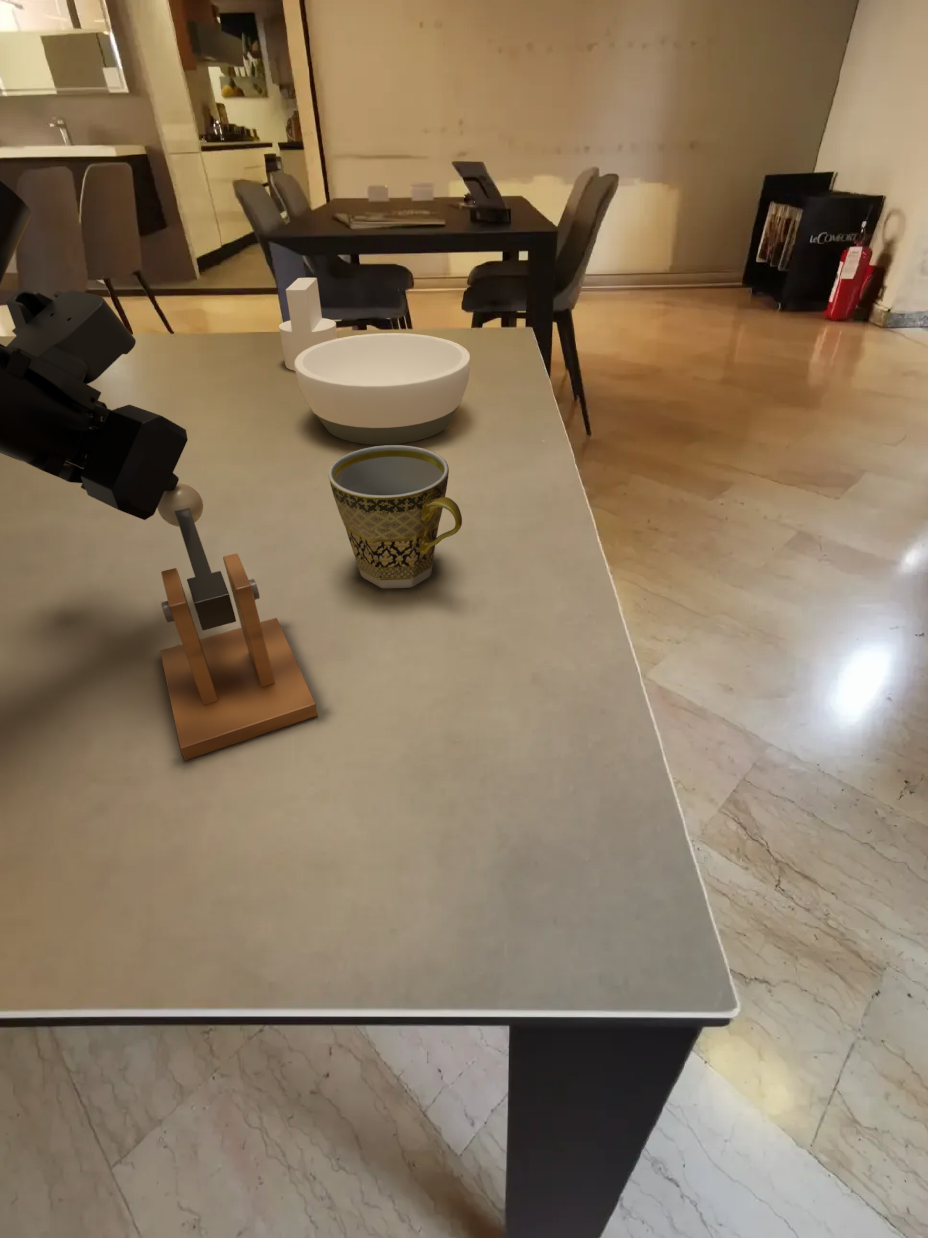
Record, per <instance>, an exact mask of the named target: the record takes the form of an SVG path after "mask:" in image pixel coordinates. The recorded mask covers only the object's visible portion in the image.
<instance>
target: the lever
mask: <svg viewBox="0 0 928 1238" xmlns="http://www.w3.org/2000/svg"><path fill="white" fill-rule="evenodd" d="M156 510H157V512H158V514H159V515H160V517H161V518H162V519H163V520H164V521H165V522H166V523H168V524H169V525H171V526H175V527H179V530H180V534H181V536H182V540H183V543H184V546H185V549H186V552H187V556H188V559H189V563H190V566H191V569H192V572H193V574H194V576H193V577H190V578H187V579H186V581H187V585H188V589H189V592H190V595H191V598H192V602H193V605H194V608H195V612H196V614H197V618H198V621H199V624H200V627H201V630H202V631H207V630H210V629H211V630H212V629H214V628H219V627H222V626H225V625H230V624H232V623H236V622H237V617H236V614H235V611H234V607H233V603H232V599H231V596H230V594H229V593H230V592H229V590H228V588H227V584H226V581H225V579H224V576H223V574H222V571H221V570H218V571H213V572H212V570H211V567H210V564H209V561H208V558H207V555H206V552H205V549H204V546H203V543H202V540H201V538H200V535H199V531H198V529H197V526H196V522H198V520H199V519H200V518H201V516H202V515H203V512H204V502H203V499H202V497H201V495H200V493H199V492H198V490H196V489H195V488H194V487H193V486H191V485H189V484H186V483H179V482H178V483H177V485H176V488H175V489H174V490H173V491H164V493H163V496H162V498H161V500H160V502H159V504H158V507H157V509H156Z"/></svg>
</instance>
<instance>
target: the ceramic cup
mask: <svg viewBox="0 0 928 1238" xmlns="http://www.w3.org/2000/svg"><path fill="white" fill-rule="evenodd" d="M449 470H450V468H449V464H448V462H447V461H446V460H445V458H443V456H441V455H439V454H437V453H436V452H435V451H432V450H429V449H426V448H423V447H418V446H412V445H402V444H390V445H374V446H372V447H371V446H370V447H366V448H361V449H357V450H355V451H352V452H349V453H347V454H344V455H343V456H341V457H340V458H339V459H337V460H336V461H335V462H333V464H332V465H331V466H330V468H329V470H328V480H329V485H330V488H331V492H332V495H333V499H334V501H335V504H336V507H337V510H338V513H339V516H340V518H341V521H342V523H343V526H344V528H345V531H346V534H347V537H348V540H349V543H350V546H351V549H352V550H351V551H352V552H353V555H354V558H355V561H356V565H357V567H358V571H359V573H360V576H361V577H362V578H363V579H364V580H366V581H368V582H370V583H372V584H373V585H375V586H377V587H378V588H381V589H406V588H413V587H415V586H417V585H418V584H420V583H421V582H424V581H425V580H427V579H429V578H430V577H431V575H432V572H433V563H434V557H435V550H436V549H435V548H436V545H438V544H439V543H440V542H442V541H443V540H444V539H446V538H449V537H451V536H453V535H455V534H456V533H458V532H459V531H460V530H461V527H462V526H463V517H462V513H461V510H460V508H459V506H458V504H457V503H456V502H455V501H454V500H453V499H452V498H450V497H447V496H446V495H447V488H448V481H449V473H450V471H449ZM444 509H446V510H447V511H449V512H450V514H451V515H452V517H453V518H454V522H455V525H454V527H453V528H452V529H450V530H448V531H445V532H444V533H441V534H440V535H438V532H439V527H440V522H441V521H440V520H441V518H442V514H443V510H444Z"/></svg>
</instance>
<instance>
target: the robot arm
mask: <svg viewBox="0 0 928 1238" xmlns="http://www.w3.org/2000/svg"><path fill="white" fill-rule="evenodd" d="M31 216H32V211H31V209H30V207H29V206H28V204H26V202H25V201H24V200H23V199H22V198H21V197H20V196H19V195H18V194H17V193H16V192H15V191H14V190H12V189H11V188H10V187H9V186H8V185H6V184H5V183H4V182H3V181H2V180H0V285H1V284H2V282H3V280H4V278H5V275H6V273H7V271H8V268H9V266H10V264H11V261H12V259H13V257H14V255H15V253H16V250H17V248H18V246H19V243H20V241H21V239H22V236H23V234H24V232H25V230H26V228H27V226H28V224H29V221H30V218H31ZM52 296H53V297H54V299H52V298H50V297H48V296H46V295H44V294H42V293H41V292H38V291H35V290H32V289H27V288H24V287H21V288H20V289H18V290H17V291H15V293H13V294H12V295H11V296H10V297H9V298H7V300H6V301H5V302H6V303H5V304H6V306H7V309H8V311H9V314H10V317H11V320H12V322H13V325H14V328H13V329H12V331H11V332H12V333H13V334H14V335H15V337H13V338H12V340H11V341H10V342H9V343H8V344H7V345H6V346H5V345H4V344H2V343H0V454H2V455H5V456H7V457H9V458H11V459H15V460H17V461H19V462H23V463H25V464H27V465H29V466H31V467H34V468H35V469H38V470H40V471H42V472H44V473H47V474H49V475H52V476H54V477H56V478H59V479H62V480H63V481H65V482H68V483H73V484H80V485H81V486H80V488H81V489H82V490H85V491H86V494H87V496H89V497H91V498H93V499H95V500H97V501H99V502H102V503H104V504H105V505H108V506H109V507H112V508H114V509H116V510H118V511H120V512H123V513H125V514H127V515H130V516H132V517H136V518H138V519H139V520H143V521H146V520H148V519H149V518H151V517H153V516H154V515H155V513H156V511H157V510H158V509H157V507H158V504H159V502H160V500H161V498H162V496H163V493H164V491H173V490H174V489H175V488H176V485H177V483H179V482H180V481H179V480H180V478H179V476H178V475H176V474H175V473H174V472H175V469H176V467H177V465H178V462H179V460H180V458H181V456H182V454H183V452H184V449H185V447H186V445H187V442H188V433H187V429H186V428H184V427H182V426H180V425H179V424H177V423H176V422H173V421H172V420H170V419H168V418H166V417H165V416H163V415H161V414H158V413H155V412H153V411H150V410H146V409H144V408H141V407H138V406H135V405H133V404H127V405H123V406H120V407H116V408H114V409H111V408H108V405H107V404H106V403H105V402H103V401H100V396H101V395H102V392H101V391H100V390H98V389H96V388H95V387H93V386H91V385H89V384H91V383H93V382H95V381H96V380H97V379H98V378H100V376H102V375H103V374H104V373H105V372H106V371H107V370H108V369H109V368H110V367H111V366H112V365H113V364H114V363H115V362H117V360H118V359H119V358H120V357H121V356H122V355H128V354H129V353H130V352H131V351H132V350H133V349H134V347H135V345H136V343H137V340H136V337H134V335H132V333H131V332H130V330H129V329H128V328H127V326H125V324H124V323H123V321H122V320H121V319H120V318H119V316H118V315H117V314H116V312H115V311H114V310H113V308H112V307H111V305H109V304H108V302H107V301H106V300H105V298H104V297H103V296H101V295H98V294H94V293H89V292H85V291H81V290H77V289H69V290H66V291H65V292H63V291H60V290H56V291H55V292H54V293H53V294H52Z"/></svg>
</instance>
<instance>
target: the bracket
mask: <svg viewBox="0 0 928 1238" xmlns="http://www.w3.org/2000/svg"><path fill="white" fill-rule="evenodd" d="M222 559H223V564H224V567H225V571H226V574H227V578H228V582H229V585H230V589H231V593H232V597H233V600H234V603H235V604H234V605H235V608H236V611H237V616H238V619H239V623H240V627H238V628H235V629H231V630H228V631H227V630H226V631H224V632H221V633H217V634H213V635H209V636H206V637H203V638H200V635H199V633H198V630H197V626H196V624H195V620H194V618H193V614H192V611H191V608H190V605H189V602H188V599H187V596H186V593H185V589H184V587H183V584H182V580H181V577H180V574H179V571H178V568H176V567H174V568H173V567H172V568H170V569H169V568H168V569H165V570H161V571H160V574H161V577H162V578H161V579H162V582H163V586H164V587H163V588H164V591H165V595H166V598H167V600H165V601H161V602H160V603H161V604H160V605H161V608H162V612H163V615H164V618H165V621H166V623H174V624H175V627H176V630H177V633H178V636H179V639H180V642H181V644H177V645H174V646H171V647H167V648H163V649H160V651H159V652H160V658H161V661H162V667H163V672H164V676H165V680H166V686H167V690H168V696H169V700H170V705H171V709H172V714H173V719H174V723H175V728H176V729H175V730H176V734H177V738H178V739H177V740H178V743H179V748H180V751H181V753H182V756H183V758H184V760H185V761H187V760H190V759H193V758H196V757H199V756H202V755H205V754H208V753H211V752H214V751H217V750H221V749H223V748H226V747H229V746H232V745H235V744H238V743H241V742H243V741H247V740H249V739H252V738H253V739H254V738H255V737H259V736H262V735H265V734H268V733H271V732H274V731H276V730H277V731H278V730H279V729H282V728H285V727H288V726H291V725H294V724H297V723H300V722H303V721H306V720H310V719H312V718H314V717H317V716H318V714H319V713H318V709H317V704H316V701H315V700H314V698H313V695H312V693H311V691H310V688H309V686H308V684H307V682H306V679H305V677H304V676H303V673H302V671H301V668H300V666H299V664H298V662H297V659H296V657H295V655H294V652H293V651H292V649H291V646H290V644H289V642H288V640H287V637H286V635H285V633H284V630H283V628H282V626H281V624H280V622H279V620H278V618H277V617H275V618H271V619H268V620H263V621H261V620H260V616H259V612H258V607H257V604H256V600H259V599H260V598H261V596H260V592H259V589H258V585H257V582H256V580H255V579H254V578H252V579H249V577H248V575H247V573H246V571H245V568H244V566H243V563H242V561H241V558H240V556H239V554H238V553H232V554H228V555H225V556H223V557H222Z"/></svg>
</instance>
